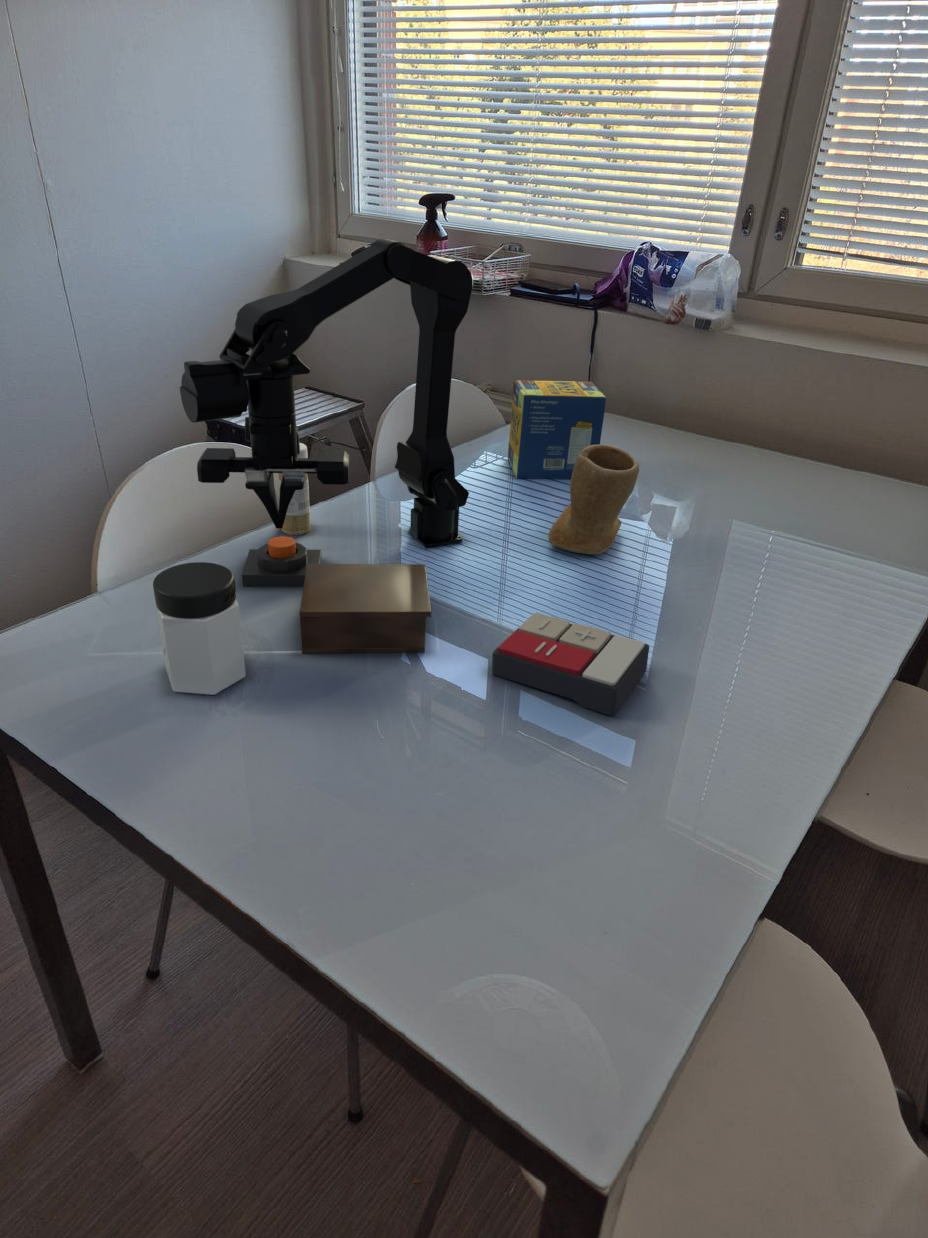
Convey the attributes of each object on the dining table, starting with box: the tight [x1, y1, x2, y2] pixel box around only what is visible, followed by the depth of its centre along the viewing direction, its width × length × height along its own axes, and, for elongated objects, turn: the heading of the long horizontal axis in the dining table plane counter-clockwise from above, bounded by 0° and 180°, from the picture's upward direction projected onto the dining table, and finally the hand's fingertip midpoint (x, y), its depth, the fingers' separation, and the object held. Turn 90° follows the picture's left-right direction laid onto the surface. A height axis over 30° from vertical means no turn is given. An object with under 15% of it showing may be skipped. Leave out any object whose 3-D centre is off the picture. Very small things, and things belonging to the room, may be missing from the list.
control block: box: [241, 542, 323, 588], centre depth 112 cm, size 10×8×4 cm
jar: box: [152, 561, 247, 696], centre depth 88 cm, size 9×8×12 cm
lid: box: [299, 563, 432, 618], centre depth 99 cm, size 15×12×1 cm
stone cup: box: [547, 443, 640, 555], centre depth 124 cm, size 15×12×15 cm
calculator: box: [491, 612, 650, 717], centre depth 94 cm, size 11×4×15 cm
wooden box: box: [299, 616, 427, 655], centre depth 101 cm, size 14×12×5 cm
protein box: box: [507, 379, 607, 480], centre depth 152 cm, size 10×15×16 cm
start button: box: [267, 535, 296, 558], centre depth 111 cm, size 4×4×2 cm
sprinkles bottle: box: [277, 442, 312, 536], centre depth 122 cm, size 5×5×14 cm
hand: (279, 527), depth 109 cm, fingers closed
